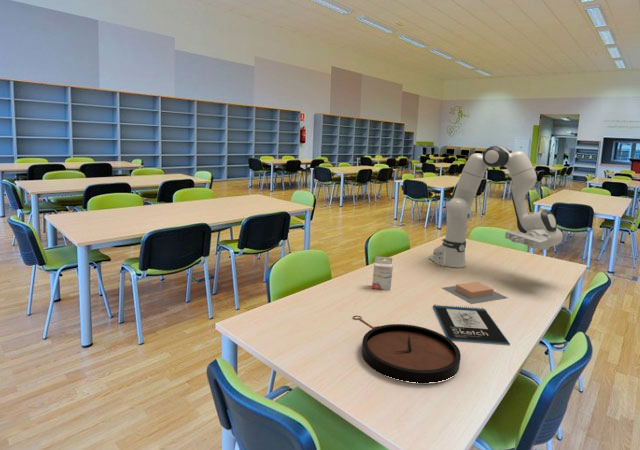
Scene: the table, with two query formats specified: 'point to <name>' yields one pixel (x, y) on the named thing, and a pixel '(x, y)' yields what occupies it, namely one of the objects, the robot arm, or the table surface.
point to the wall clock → (410, 353)
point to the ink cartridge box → (382, 273)
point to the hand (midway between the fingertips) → (513, 240)
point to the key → (363, 321)
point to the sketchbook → (469, 325)
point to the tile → (474, 289)
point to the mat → (475, 300)
